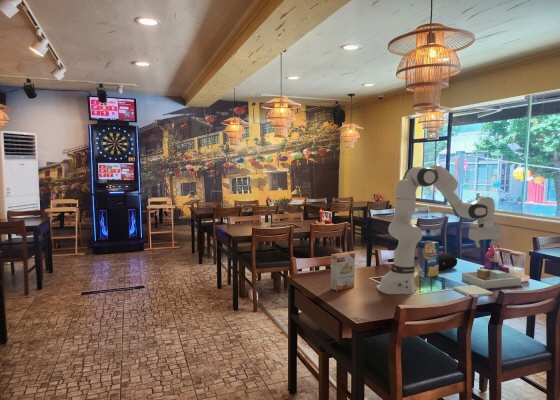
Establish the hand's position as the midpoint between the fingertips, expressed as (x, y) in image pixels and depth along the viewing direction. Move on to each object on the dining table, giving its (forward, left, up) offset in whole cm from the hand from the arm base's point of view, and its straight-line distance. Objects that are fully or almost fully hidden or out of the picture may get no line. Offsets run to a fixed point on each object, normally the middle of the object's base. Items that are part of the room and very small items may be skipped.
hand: (484, 246), depth 214 cm
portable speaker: (-6, +34, -23) cm, 42 cm away
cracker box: (-85, +13, -23) cm, 89 cm away
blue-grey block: (+10, 0, -22) cm, 24 cm away
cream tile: (-17, -11, -23) cm, 31 cm away
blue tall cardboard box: (-21, +24, -23) cm, 39 cm away
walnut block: (0, 0, -22) cm, 22 cm away
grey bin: (+5, 0, -23) cm, 23 cm away
